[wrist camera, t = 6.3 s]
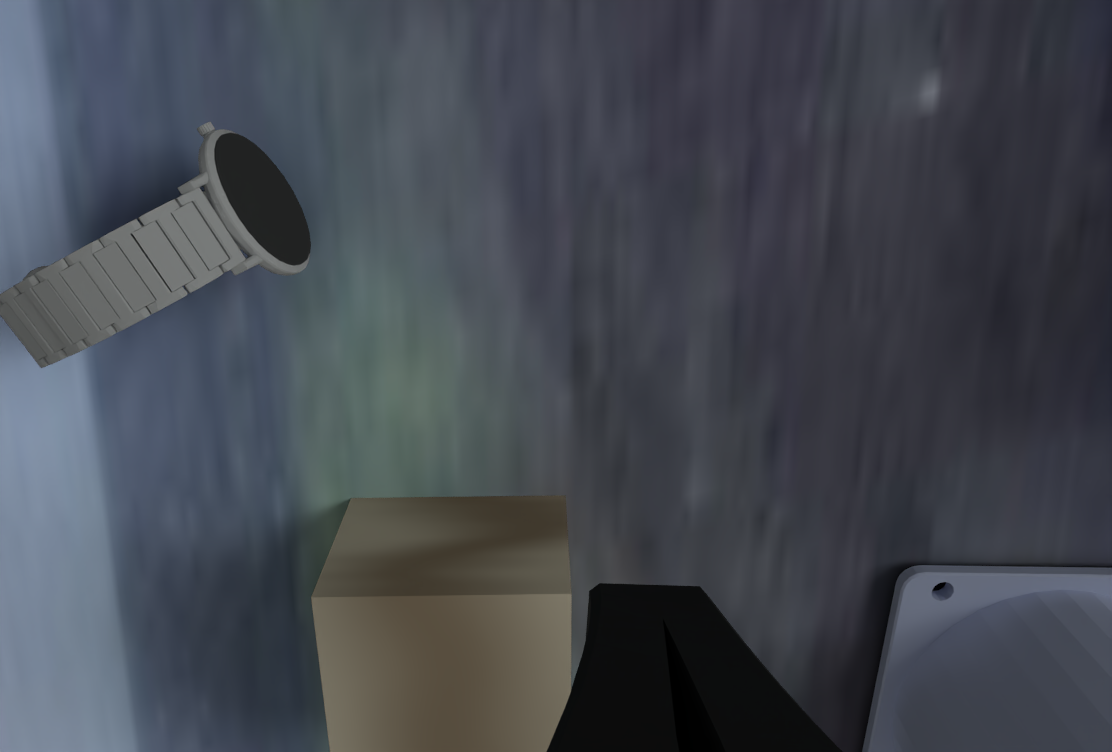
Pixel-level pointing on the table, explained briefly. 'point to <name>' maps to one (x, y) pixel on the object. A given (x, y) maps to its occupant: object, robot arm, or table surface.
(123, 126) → the table surface
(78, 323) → the wristwatch
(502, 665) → the birch block
